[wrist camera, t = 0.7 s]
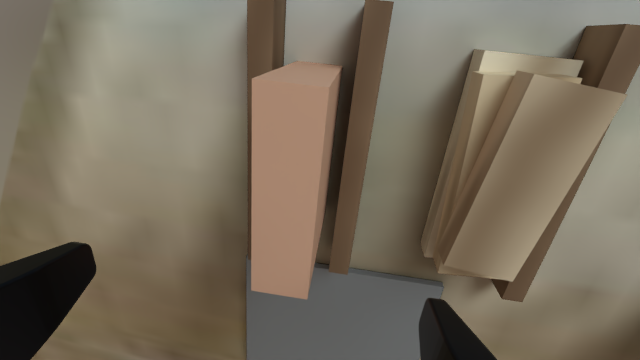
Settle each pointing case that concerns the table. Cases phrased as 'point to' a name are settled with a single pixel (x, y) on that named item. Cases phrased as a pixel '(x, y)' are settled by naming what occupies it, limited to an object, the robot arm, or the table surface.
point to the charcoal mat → (339, 317)
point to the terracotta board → (290, 172)
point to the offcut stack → (511, 160)
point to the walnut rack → (268, 54)
